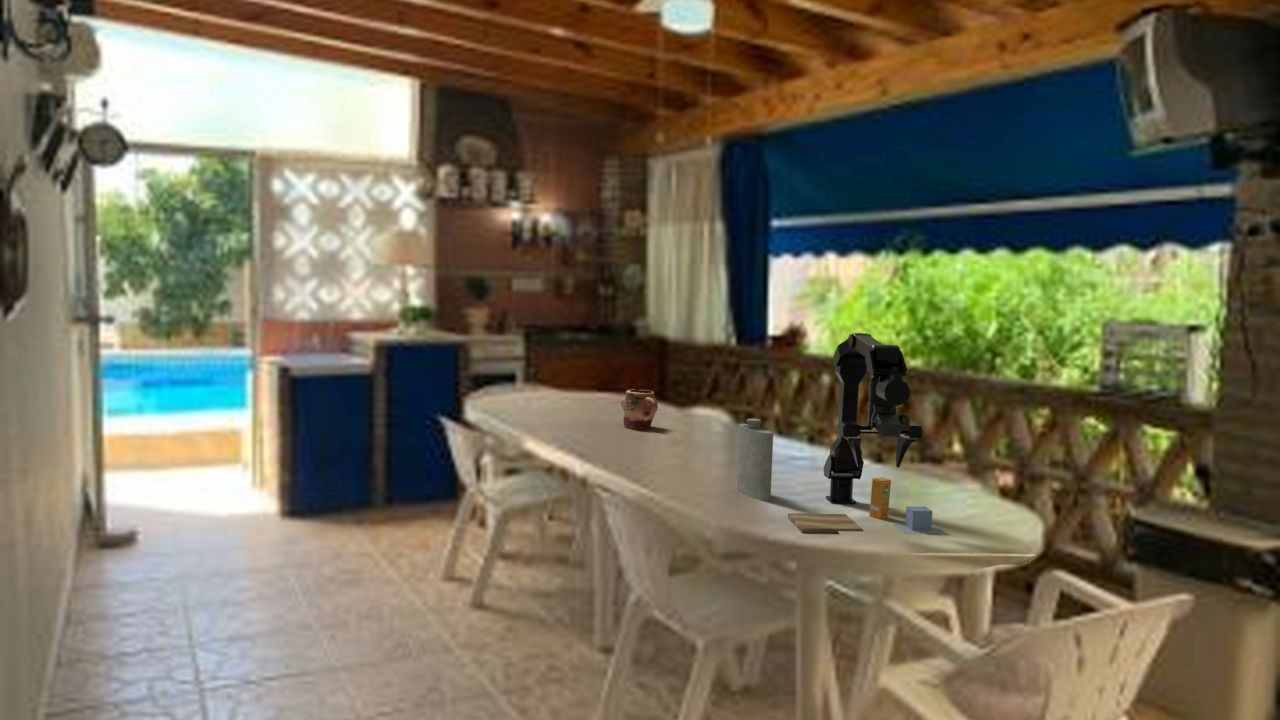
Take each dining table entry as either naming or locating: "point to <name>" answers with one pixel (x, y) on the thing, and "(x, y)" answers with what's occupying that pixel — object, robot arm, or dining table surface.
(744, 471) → the hip flask
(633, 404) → the pink rounded hollow vessel
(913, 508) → the slate blue block
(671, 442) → the dining table surface
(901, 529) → the grey mat
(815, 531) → the walnut board
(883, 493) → the supplement box
